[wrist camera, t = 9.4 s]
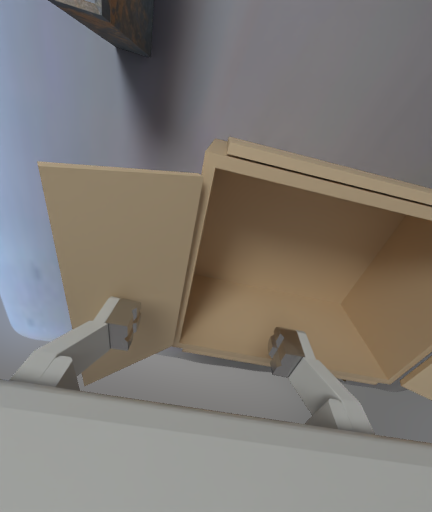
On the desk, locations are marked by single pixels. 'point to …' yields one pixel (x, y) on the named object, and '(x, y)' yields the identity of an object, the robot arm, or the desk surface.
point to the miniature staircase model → (115, 21)
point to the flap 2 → (420, 379)
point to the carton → (308, 263)
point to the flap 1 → (122, 247)
